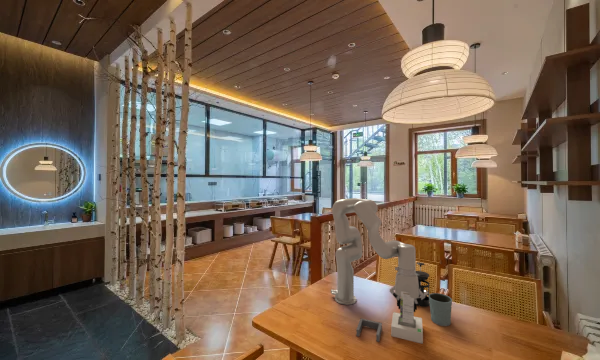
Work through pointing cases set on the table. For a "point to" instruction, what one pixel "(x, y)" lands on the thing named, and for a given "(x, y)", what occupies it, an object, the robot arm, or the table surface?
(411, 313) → the syrup box
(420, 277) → the french press
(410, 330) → the port
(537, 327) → the table surface
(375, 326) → the grey u-shaped bracket
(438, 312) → the grey embossed plant pot
